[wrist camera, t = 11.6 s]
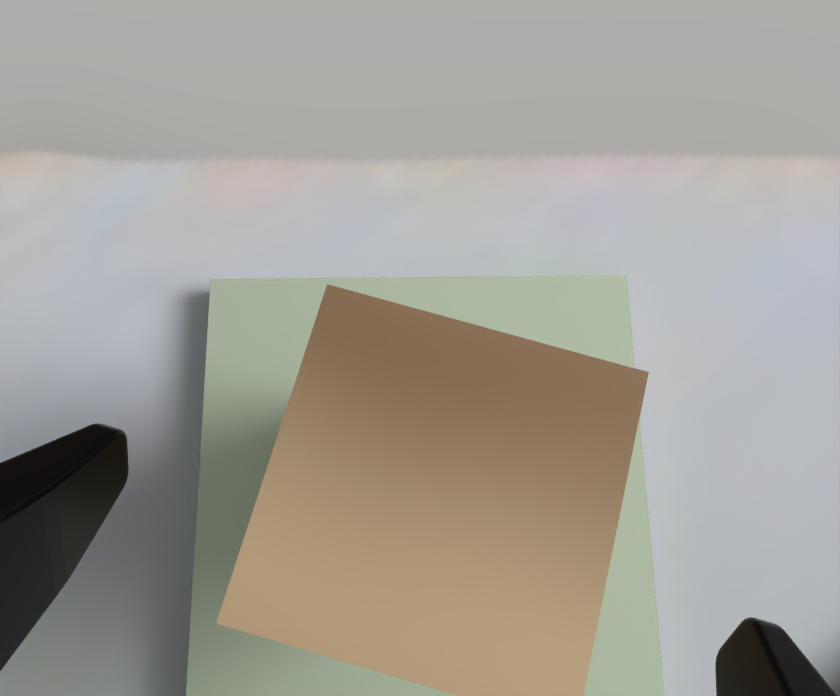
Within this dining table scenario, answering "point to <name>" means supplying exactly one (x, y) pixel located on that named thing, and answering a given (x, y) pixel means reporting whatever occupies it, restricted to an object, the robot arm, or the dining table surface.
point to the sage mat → (259, 426)
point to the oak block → (439, 502)
